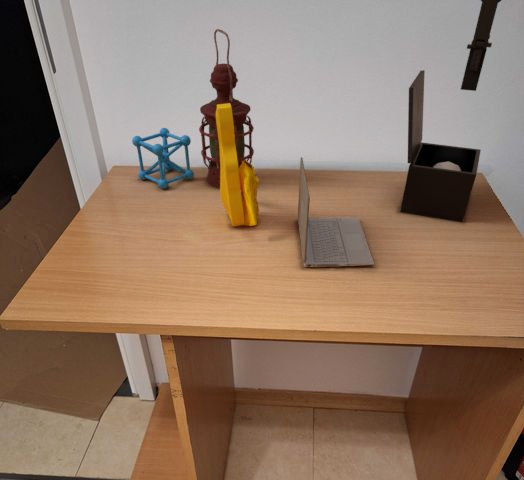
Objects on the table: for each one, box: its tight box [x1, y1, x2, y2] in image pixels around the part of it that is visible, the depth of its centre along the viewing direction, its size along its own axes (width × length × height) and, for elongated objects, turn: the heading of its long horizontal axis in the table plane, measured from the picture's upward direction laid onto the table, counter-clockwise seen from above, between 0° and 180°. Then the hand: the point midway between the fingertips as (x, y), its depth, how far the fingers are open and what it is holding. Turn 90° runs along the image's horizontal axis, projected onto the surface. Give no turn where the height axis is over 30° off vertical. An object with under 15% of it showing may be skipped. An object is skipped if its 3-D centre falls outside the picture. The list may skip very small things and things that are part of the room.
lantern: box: [198, 28, 255, 189], centre depth 105 cm, size 12×12×30 cm
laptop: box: [297, 156, 375, 268], centre depth 88 cm, size 18×12×13 cm
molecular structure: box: [131, 127, 195, 190], centre depth 112 cm, size 10×10×10 cm
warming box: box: [399, 141, 481, 223], centre depth 102 cm, size 13×15×10 cm
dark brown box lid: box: [407, 69, 426, 164], centre depth 96 cm, size 13×15×1 cm
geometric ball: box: [433, 161, 461, 171], centre depth 102 cm, size 8×8×8 cm
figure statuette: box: [216, 103, 261, 227], centre depth 92 cm, size 18×8×22 cm, turn 8°
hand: (468, 89), depth 90 cm, fingers closed
